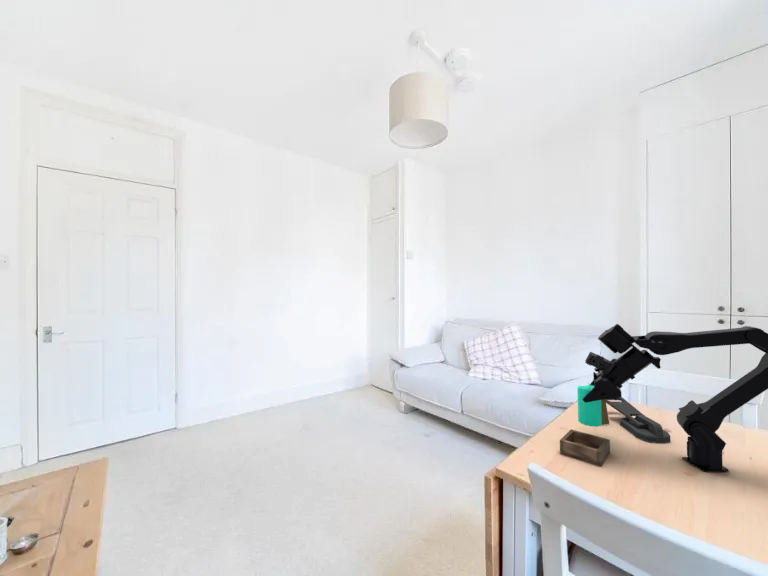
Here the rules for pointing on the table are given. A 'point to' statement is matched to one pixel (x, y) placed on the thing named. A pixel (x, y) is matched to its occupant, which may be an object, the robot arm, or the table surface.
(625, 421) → the zipper pull
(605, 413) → the cork
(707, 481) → the table surface
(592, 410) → the candle
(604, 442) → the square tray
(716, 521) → the table surface
